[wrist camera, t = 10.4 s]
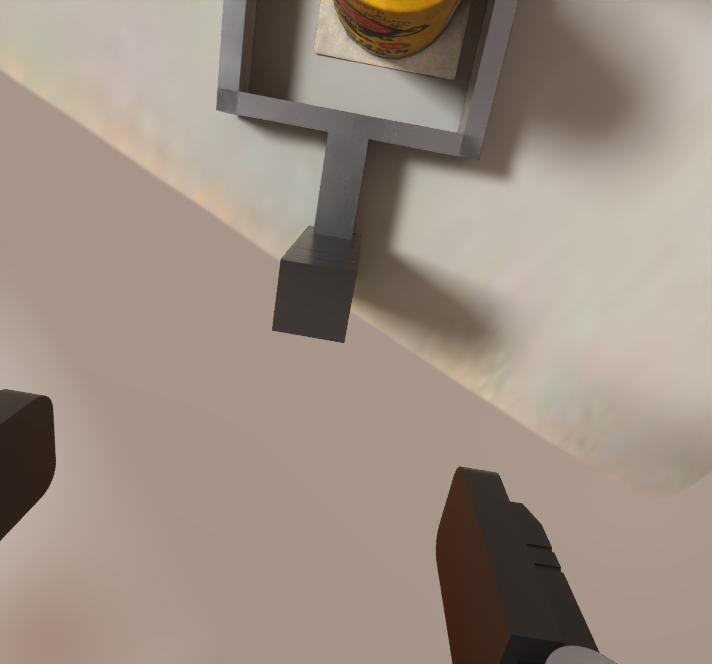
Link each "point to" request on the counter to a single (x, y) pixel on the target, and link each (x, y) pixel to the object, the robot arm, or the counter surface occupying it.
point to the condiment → (395, 33)
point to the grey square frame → (346, 165)
